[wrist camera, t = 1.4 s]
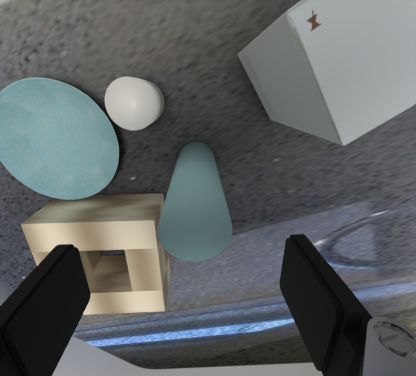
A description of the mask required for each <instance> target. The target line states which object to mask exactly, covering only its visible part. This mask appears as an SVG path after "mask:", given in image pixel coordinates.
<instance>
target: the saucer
mask: <svg viewBox="0 0 416 376" xmlns="http://www.w3.org/2000/svg"><path fill="white" fill-rule="evenodd" d="M118 144H119V143H118V139H117V136H116V134H115V131H114V129H113V127H112V125H111V123H110V121H109V119H108V118H107V116H106V115H105V113H104V112H103V111H102V109H101V108H100V107H99V106H98V105H97V104H96V103H95V102H94V101H93V100H92V99H91V98H90V97H89V96H87V94H84V93H83V92H82V91H80V90H78V89H77V88H75V87H73V86H71V85H69V84H66V83H64V82H61V81H58V80H54V79H49V78H39V77H35V78H33V77H32V78H31V77H30V78H26V79H21V80H18V81H16V82H13V83H12V84H10V85H8V86H7V87H5V88H4V89H3V90H2V91H1V92H0V161H1V162H2V163H3V165H4V166H5V167H6V168H7V169H8V171H9V172H10V173H11V174H12V175H13V176H14V177H15V178H16V179H18V180H19V181H20V182H22V183H23V184H25V185H26V186H27V187H29V188H31V189H32V190H34V191H36V192H38V193H41V194H44V195H46V196H50V197H53V198H58V199H66V200H75V199H81V198H86V197H89V196H92V195H94V194H96V193H98V192H99V191H101V190H102V189H103V188H105V187H106V186H107V185H108V184H109V183H110V181H111V180H112V178H113V177H114V175H115V173H116V170H117V167H118V162H119V145H118Z"/></svg>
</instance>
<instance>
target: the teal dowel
mask: <svg viewBox="0 0 416 376" xmlns="http://www.w3.org/2000/svg"><path fill="white" fill-rule="evenodd" d="M157 232H158V238H159V241H160V243H161V245H162V246H163V248H164V249H165V250H166V251H167V252H168V253H169V254H171V255H172V256H174V257H176V258H178V259H181V260H184V261H189V262H200V261H206V260H209V259H211V258H214V257H216V256H217V255H219V254H220V253H221V252H222V251H224V250H225V248H226V247H227V246H228V244H229V242H230V240H231V237H232V223H231V219H230V215H229V211H228V207H227V204H226V200H225V196H224V192H223V188H222V184H221V180H220V177H219V173H218V169H217V165H216V161H215V157H214V154H213V151H212V150H211V148H210V147H209V146H208V145H206V144H204V143H202V142H190V143H188V144H186V145H185V146H184V147H183V148H182V149H181V151H180V153H179V156H178V159H177V163H176V166H175V169H174V173H173V176H172V179H171V183H170V186H169V189H168V193H167V196H166V200H165V203H164V206H163V210H162V213H161V216H160V220H159V223H158V229H157Z"/></svg>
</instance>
